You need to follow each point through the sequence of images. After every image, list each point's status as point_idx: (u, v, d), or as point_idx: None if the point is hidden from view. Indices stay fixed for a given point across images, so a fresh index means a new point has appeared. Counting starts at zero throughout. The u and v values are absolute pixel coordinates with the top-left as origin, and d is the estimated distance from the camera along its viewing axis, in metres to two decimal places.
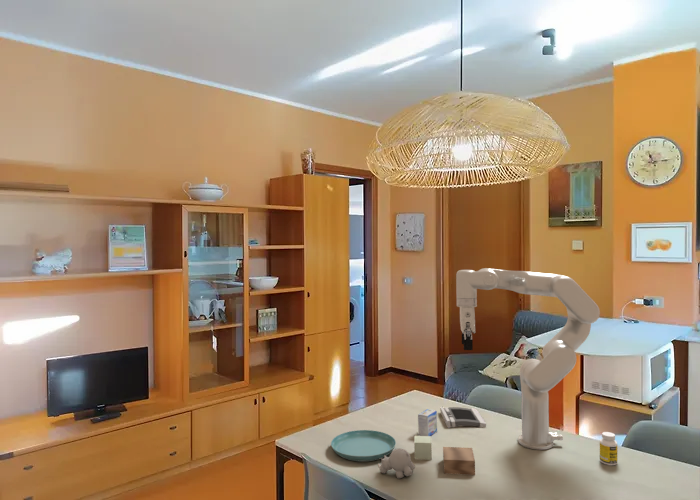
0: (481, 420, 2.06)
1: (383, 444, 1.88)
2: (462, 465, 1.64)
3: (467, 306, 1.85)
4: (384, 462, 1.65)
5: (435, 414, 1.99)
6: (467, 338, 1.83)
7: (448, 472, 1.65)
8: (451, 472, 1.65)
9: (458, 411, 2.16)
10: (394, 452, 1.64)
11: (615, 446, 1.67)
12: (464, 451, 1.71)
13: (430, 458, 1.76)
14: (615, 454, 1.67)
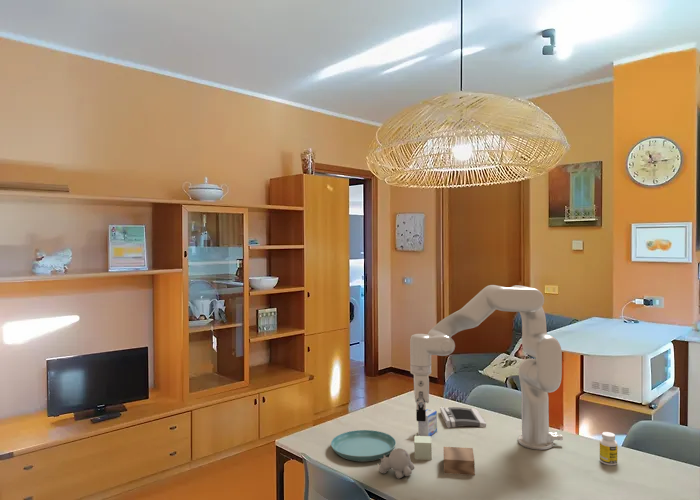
0: (481, 420, 2.06)
1: (383, 444, 1.88)
2: (461, 465, 1.64)
3: (420, 374, 1.74)
4: (383, 462, 1.65)
5: (435, 414, 1.99)
6: (420, 409, 1.72)
7: (447, 472, 1.65)
8: (450, 472, 1.65)
9: (458, 411, 2.16)
10: (393, 452, 1.64)
11: (615, 446, 1.67)
12: (464, 451, 1.71)
13: (430, 458, 1.76)
14: (615, 454, 1.67)
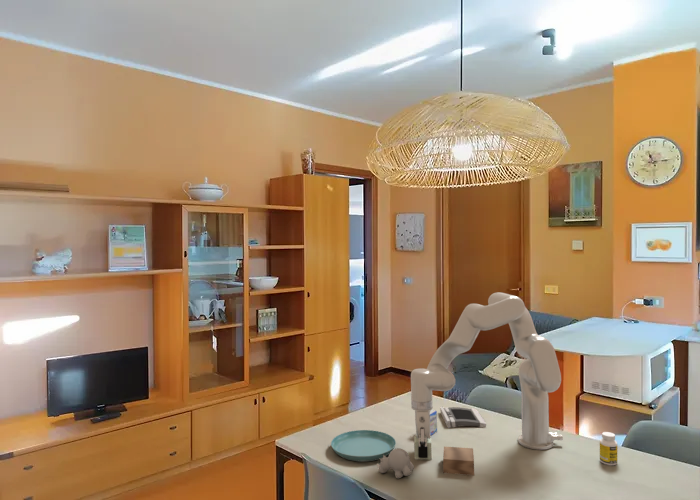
0: (481, 420, 2.06)
1: (383, 444, 1.88)
2: (461, 465, 1.64)
3: (422, 410, 1.75)
4: (383, 462, 1.65)
5: (435, 414, 1.99)
6: (421, 446, 1.74)
7: (447, 472, 1.65)
8: (450, 472, 1.65)
9: (458, 411, 2.16)
10: (393, 452, 1.64)
11: (615, 446, 1.67)
12: (464, 451, 1.71)
13: (430, 458, 1.76)
14: (615, 454, 1.67)
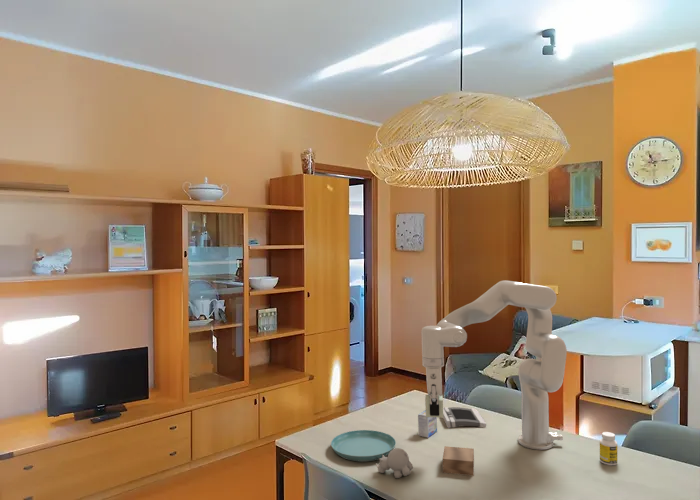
0: (481, 420, 2.06)
1: (383, 444, 1.88)
2: (460, 465, 1.64)
3: (433, 367, 1.71)
4: (382, 462, 1.65)
5: None
6: (433, 403, 1.70)
7: (446, 471, 1.65)
8: (449, 471, 1.65)
9: (458, 411, 2.16)
10: (392, 452, 1.64)
11: (615, 446, 1.67)
12: (465, 451, 1.71)
13: (442, 416, 1.72)
14: (615, 454, 1.67)
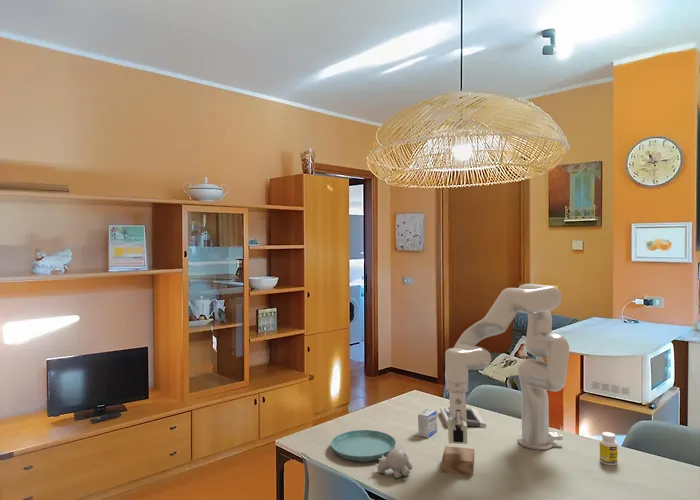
0: (481, 420, 2.06)
1: (383, 444, 1.88)
2: (460, 465, 1.64)
3: (457, 391, 1.65)
4: (382, 462, 1.65)
5: (435, 414, 1.99)
6: (457, 429, 1.64)
7: (446, 471, 1.66)
8: (449, 471, 1.65)
9: None
10: (392, 452, 1.64)
11: (615, 446, 1.67)
12: (465, 451, 1.71)
13: (466, 442, 1.66)
14: (615, 454, 1.67)
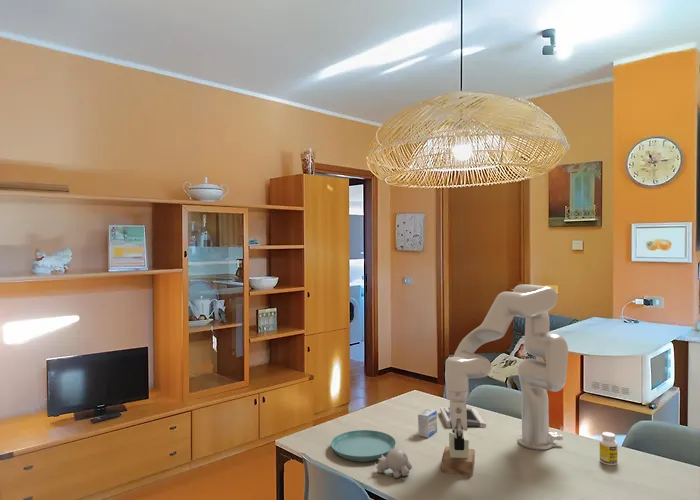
0: (481, 420, 2.06)
1: (383, 444, 1.88)
2: (459, 465, 1.64)
3: (458, 400, 1.65)
4: (381, 462, 1.65)
5: (435, 414, 1.99)
6: (458, 437, 1.63)
7: (446, 471, 1.66)
8: (448, 471, 1.65)
9: None
10: (391, 452, 1.64)
11: (615, 446, 1.67)
12: None
13: (467, 456, 1.66)
14: (615, 454, 1.67)
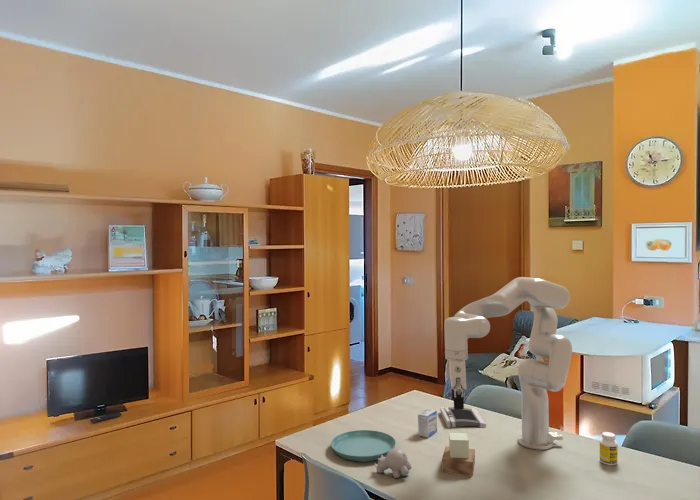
0: (481, 420, 2.06)
1: (383, 444, 1.88)
2: (459, 465, 1.64)
3: (457, 359, 1.65)
4: (381, 462, 1.65)
5: (435, 414, 1.99)
6: (457, 396, 1.62)
7: (446, 471, 1.66)
8: (449, 471, 1.66)
9: (458, 411, 2.16)
10: (391, 452, 1.64)
11: (615, 446, 1.67)
12: None
13: (467, 456, 1.66)
14: (615, 454, 1.67)
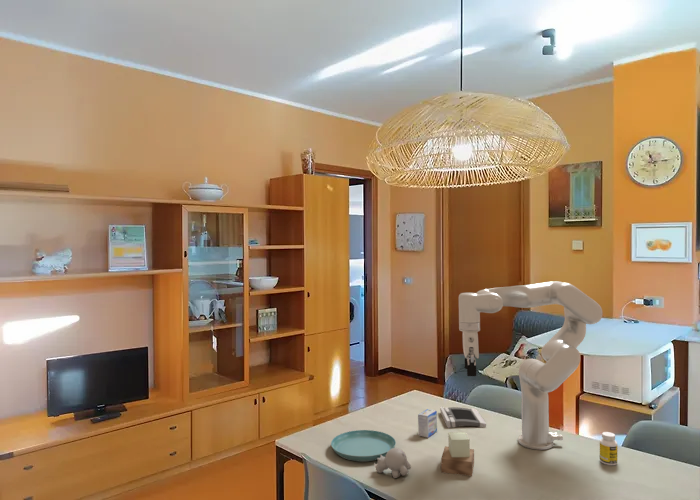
0: (481, 420, 2.06)
1: (383, 444, 1.88)
2: (459, 465, 1.64)
3: (470, 331, 1.79)
4: (380, 461, 1.65)
5: (435, 414, 1.99)
6: (471, 364, 1.77)
7: (445, 471, 1.66)
8: (448, 471, 1.65)
9: (458, 411, 2.16)
10: (390, 451, 1.64)
11: (615, 446, 1.67)
12: None
13: (468, 455, 1.66)
14: (615, 454, 1.67)
